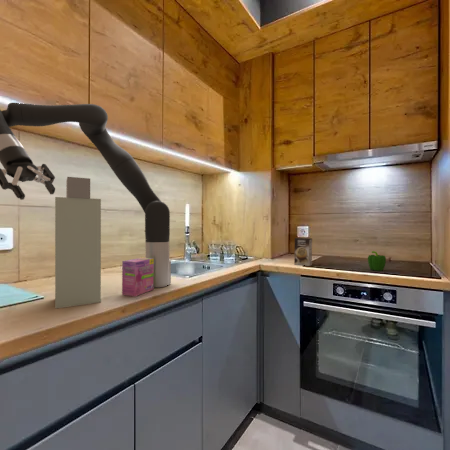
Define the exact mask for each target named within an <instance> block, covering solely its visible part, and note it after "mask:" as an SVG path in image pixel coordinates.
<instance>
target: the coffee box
mask: <svg viewBox="0 0 450 450" xmlns="http://www.w3.org/2000/svg"><path fill="white" fill-rule="evenodd" d="M293 265H296V266H304V265H305V266H304V267H307V266H308V267H309V266H312V265H313V238H310V237H308V238H307V237H294V263H293Z"/></svg>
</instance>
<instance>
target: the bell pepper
mask: <svg viewBox="0 0 450 450" xmlns="http://www.w3.org/2000/svg"><path fill="white" fill-rule="evenodd" d="M371 253H372V254H370V255H368V256H367V263H368V267H369V268H370V270H372V271H379V272H381V271H383V270H384V269H385V267H386V259H387V258H386V256H385V255H381V254H378V252H377V251H374V250H373V251H371Z"/></svg>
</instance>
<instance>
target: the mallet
mask: <svg viewBox="0 0 450 450" xmlns="http://www.w3.org/2000/svg"><path fill="white" fill-rule="evenodd" d="M65 180H66V184H65V185H66V186H65V187H66V193H65V195H66V196H65V197H67V198H89V199H91V178H89V177H88V178H87V177H74V176H67V177H66V179H65Z"/></svg>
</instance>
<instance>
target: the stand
mask: <svg viewBox="0 0 450 450" xmlns="http://www.w3.org/2000/svg"><path fill="white" fill-rule="evenodd" d="M54 199H55V200H54V201H55V202H54V204H55V205H54V211H55V212H54V218H55V219H54V229H55V231H54V233H55V234H54V242H55V243H54V251H55V252H54V254H55V255H54V259H55V262H54V264H55V265H54V267H55V268H54V269H55V270H54V271H55V272H54V274H55V275H54V280H55V281H54V285H55V286H54V287H55V288H54V289H55V290H54V297H55V298H54V304H55V306H54V307H55V309H60V308H69V307H76V306H84V305H85V306H86V305H90V304H91V305H92V304H99V303H101V302H102V301H101V300H102V299H101V296H102V289H101V288H102V280H101V279H102V278H101V276H102V275H101V274H102V273H101V271H102V270H101V268H102V255H101V254H102V251H101V250H102V248H101V246H102V234H101V233H102V231H101V230H102V229H101V228H102V225H101V224H102V219H101V218H102V206H101V205H102V200H101V199H102V198H90V199H89V198H67V197H66V196H65V197H63V196H62V197H61V196H55V198H54Z"/></svg>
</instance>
